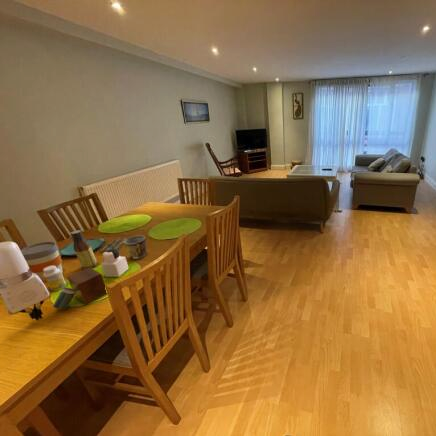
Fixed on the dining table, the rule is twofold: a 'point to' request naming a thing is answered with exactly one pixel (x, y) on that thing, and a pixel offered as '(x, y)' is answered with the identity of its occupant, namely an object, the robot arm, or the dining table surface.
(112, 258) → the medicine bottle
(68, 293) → the cylinder
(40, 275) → the reusable coffee cup
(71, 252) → the cutlery set
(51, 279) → the supplement bottle
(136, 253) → the ceramic cup
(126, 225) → the dining table surface
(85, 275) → the box
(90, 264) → the sauce bottle
